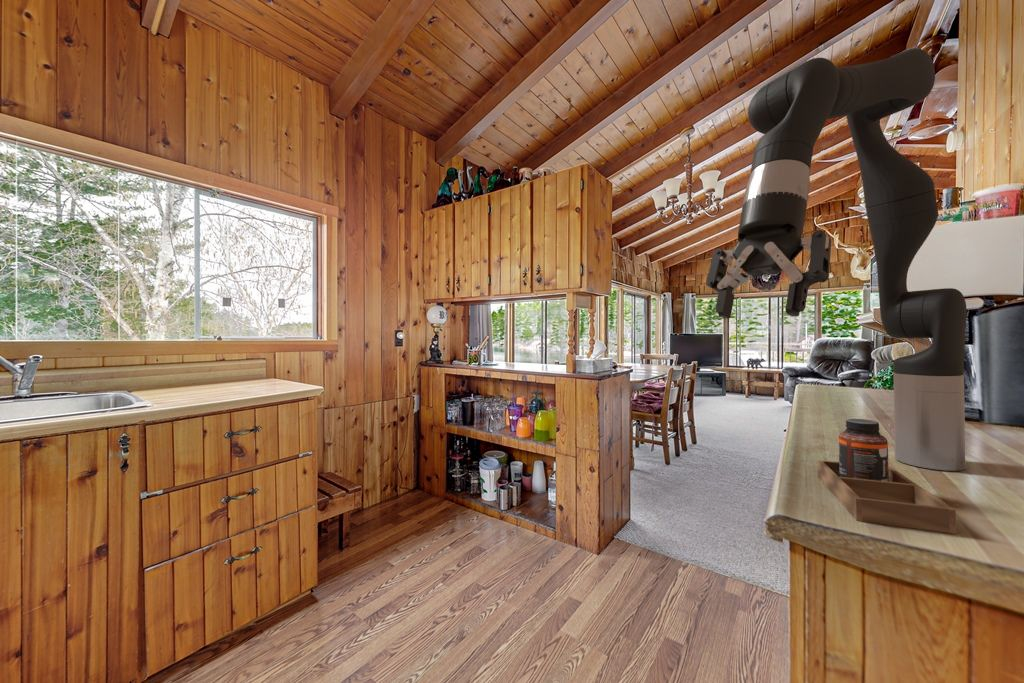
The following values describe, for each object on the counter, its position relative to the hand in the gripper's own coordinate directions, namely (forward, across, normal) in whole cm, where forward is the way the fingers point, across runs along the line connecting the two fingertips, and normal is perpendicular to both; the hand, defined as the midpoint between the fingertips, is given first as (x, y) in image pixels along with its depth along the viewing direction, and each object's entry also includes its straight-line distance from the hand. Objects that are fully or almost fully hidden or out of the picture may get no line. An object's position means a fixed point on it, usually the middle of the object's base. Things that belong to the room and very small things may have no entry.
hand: (755, 316), depth 52 cm
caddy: (+21, -7, -29) cm, 36 cm away
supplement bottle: (+20, -4, -33) cm, 39 cm away
